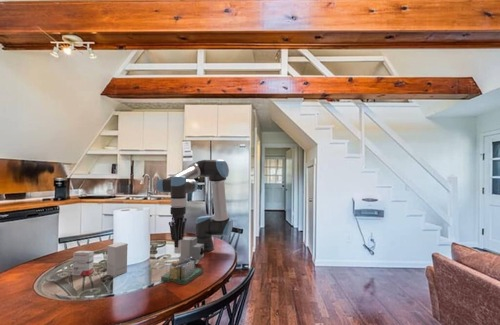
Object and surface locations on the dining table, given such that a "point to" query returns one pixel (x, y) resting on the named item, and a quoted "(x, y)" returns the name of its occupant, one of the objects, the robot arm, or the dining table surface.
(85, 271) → the ink box
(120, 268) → the skincare box
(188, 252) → the circuit breaker
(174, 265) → the silver elongated bar
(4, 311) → the dining table surface
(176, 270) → the circuit board
